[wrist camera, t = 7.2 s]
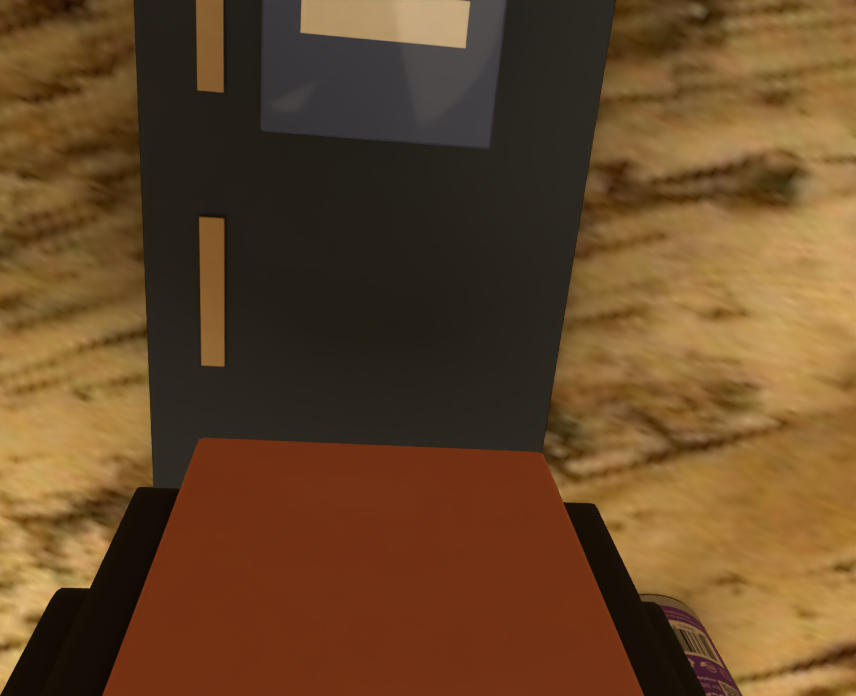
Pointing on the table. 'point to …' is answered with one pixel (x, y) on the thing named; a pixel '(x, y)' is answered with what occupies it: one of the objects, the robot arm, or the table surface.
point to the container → (697, 647)
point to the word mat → (356, 246)
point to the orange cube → (369, 579)
